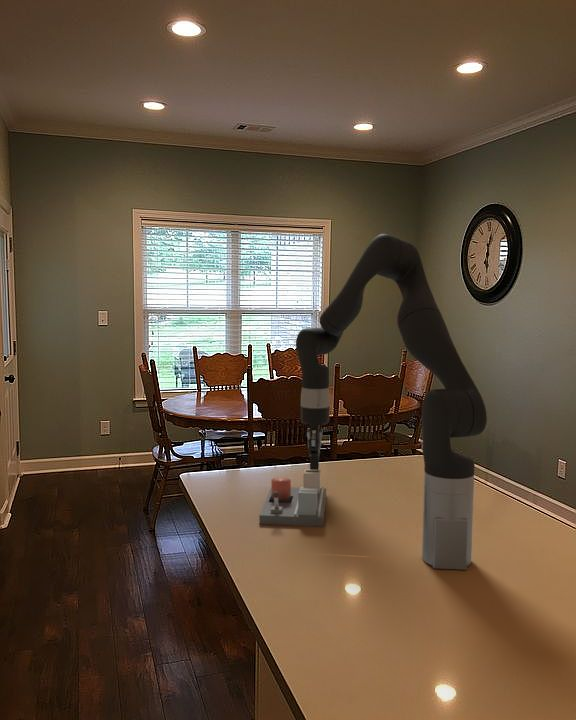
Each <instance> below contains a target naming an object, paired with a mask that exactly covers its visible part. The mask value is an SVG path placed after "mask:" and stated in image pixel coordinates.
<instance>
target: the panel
mask: <svg viewBox="0 0 576 720" xmlns="http://www.w3.org/2000/svg"><path fill="white" fill-rule="evenodd" d="M299 488H303V486H301V487H300V486H299V487H294V486H291V497H290V498H289V499H284V500H278V497H279V493H278V492H274V493H273V497H274V499H273V498H272V497H271V488H270V490H269V492H268V494H267V497H266V499H265V501H264V503H263V506H262V508H261V510H260V513H259V516H258V517H259V519H258V520H259V523H258V524H259V525H271V526H272V525H273V526H274V525H275V526H295V527H296V526H297V527H299V526H302V527H322V528H323V526H324V518H325V510H326V502H327V488H324V487H323V486H322V487H320V494H317V514H316V516H310V515H298V492H299Z"/></svg>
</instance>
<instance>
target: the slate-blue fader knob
mask: <svg viewBox="0 0 576 720" xmlns="http://www.w3.org/2000/svg"><path fill="white" fill-rule="evenodd" d="M316 514H317V488H301V487H300V488H299V492H298V515H310V516H316Z"/></svg>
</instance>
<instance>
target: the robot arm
mask: <svg viewBox="0 0 576 720" xmlns="http://www.w3.org/2000/svg"><path fill="white" fill-rule="evenodd" d="M376 275H378V276H381V277H384V278H387V279H390V280H393V281H394V282H395V284H396V285H397V287H398V289H399V291H400V293H401V297H402V300H401V303H400V307H399V310H398V313H397V318H396V319H397V327H398V331H399V333H400V335H401V338H402V341H403V343H404V347H405V348H406V350H407V351H408V352H409V354H410V355H411V356H412V357H413V358H414V359H415V360H417V362H419V363H420V364H421V365H422V366H423V367H425V368H426V369H428V370H429V371H430V372H431V373H432V374H433V375H434V376H436V378H437V379H438V380H439V381H440V383H441V384H442V385H443V387H444V388H437V389H435V388H434V389H431V390H429V391H427V392H426V394H424V395H425V396H424V398H423V400H422V405H421V430H422V431H421V432H422V434H421V435H422V436H421V437H422V438H421V439H422V440H421V441H422V456H423V457H422V458H423V463H424V465H423V466H424V469H423V471H424V477H423V479H424V480H423V503H422V504H423V506H422V507H423V509H422V510H423V511H422V541H421V542H422V543H421V544H422V547H421V559H422V560H423V561H424V562H425V563H426V564H428V565H430V566H431V567H432V568H433V569H442V570H443V569H445V570H464V571H466V570H467V569H468V567H469V566H471V564H472V550H473V549H472V548H473V521H474V518H473V517H474V495H475V494H474V490H475V461H474V459H473V458H472V457H470V456H468V455H467V454H464V453H460V452H458V451H454V450H453V449H452V447H451V446H452V445H451V439H452V438H453V439H454V438H467V437H468V438H469V437H475V436H478V435H481V434H482V433H483V432H484V431H485V428H487V427H486V426H487V423H488V416H487V409H486V405H485V402H484V399H483V397H482V395H481V393H480V391H479V389H478V388H477V386H476V385H477V384H475V381H474V380H473V378H472V377H471V375H470V374H469V372H468V369H467V368H466V366H465V365H464V363H463V360H462V359H461V357H460V354H459V353H458V350H457V348H456V346H455V345H454V342H453V339H452V337H451V335H450V333H449V330H448V327H447V324H446V322H445V319H444V317H443V315H442V313H441V311H440V309H439V307H438V305H437V302H436V300H435V297H434V295H433V293H432V290H431V287H430V284H429V282H428V279H427V276H426V272H425V269H424V266H423V262H422V259H421V255H420V253H419V250H418V249H417V247H416V246H415V245H414V244H413V243H412V242H409V241H407V240H405V239H402V238H400V237H397V236H394V235H392V234H389V233H381V234H378V235H377V236H376V237H374V238H372V240H371V241H370V243H369V244H368V245H367V247H366V248H365V250H364V251H363V253H362V255H361V256H360V258H359V260H358V261H357V262H356V265H355V266H354V268H353V269H352V271H351V273H350V275H349V277H348V278H347V280H346V282H345V284H344V285H343V286H342V288H341V289H340V291H339V293H338V294H337V295H336V296H335V297H334V299H333V300H332V301H331V302H330V303H329V305H328V306H327V307H326V308H325V310H324V311H323V312H322V313H321V315H320V317H319V324H320V327H305V328H303V329H301V330H300V331H299V332H298V334H297V336H296V339H295V349H296V354H297V357H298V360H299V365H300V368H301V392H300V422H301V423H302V424H305V425H309V428H307V430H306V437H307V448H308V455H309V469H314V470H320V469H319V467H320V455H321V451H320V450H321V447H322V441H323V440H322V438H323V433H324V432H323V431H324V430H323V428H321V427H320V426H321V425H322V426H323V425H327V424H328V423H329V422H330V413H331V411H330V410H331V408H330V405H331V403H330V402H331V401H330V399H331V397H330V369H329V367H328V365H325V364H323V363H320V361H319V359H318V356H319V355H327V354H329V353H331V352H332V351H333V350H335V349H336V347H337V346H338V344H339V342H340V340H341V338H342V336H343V333H344V331H345V330H346V329H347V328H348V327H349V326H350V325H351V324H352V323H353V322H354V321H355V319H356V318H358V315H359V314H360V312H361V309H362V307H363V301H364V300H363V299H364V293H365V288H366V286H367V284H369V282H370V281H371V280H372V279H373V278H374V277H375V276H376Z"/></svg>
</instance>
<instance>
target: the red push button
mask: <svg viewBox="0 0 576 720" xmlns="http://www.w3.org/2000/svg"><path fill="white" fill-rule="evenodd" d="M291 482H292V480H291V479H290V478H288V477H275V478H272V479H271V482H270V483H271V487H270V489H271V497H272V498H273V499H274V497H273V493H274V492H278V493H279V497H278V500H284V499H289V498H290V497H291V487H292V486H291V485H292V483H291Z"/></svg>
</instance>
